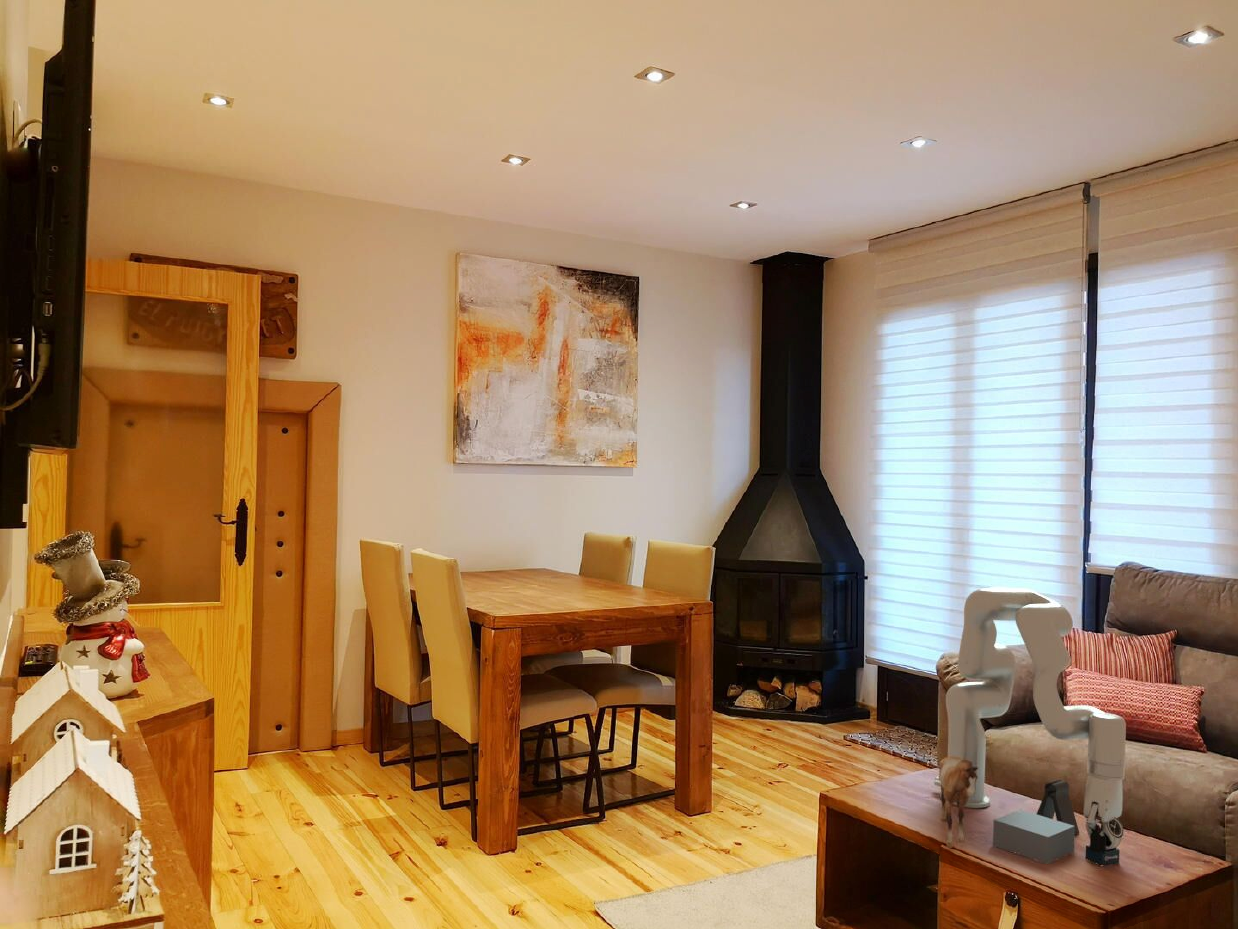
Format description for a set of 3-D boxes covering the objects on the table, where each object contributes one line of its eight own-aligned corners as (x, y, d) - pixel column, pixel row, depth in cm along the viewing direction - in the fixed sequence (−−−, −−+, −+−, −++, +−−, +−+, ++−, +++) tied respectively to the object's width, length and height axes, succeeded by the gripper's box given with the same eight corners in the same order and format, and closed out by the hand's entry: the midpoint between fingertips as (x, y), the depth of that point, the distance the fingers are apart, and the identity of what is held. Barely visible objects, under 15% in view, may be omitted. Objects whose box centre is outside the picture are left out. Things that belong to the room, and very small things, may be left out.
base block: (992, 845, 221) (993, 819, 222) (1019, 834, 230) (1020, 809, 230) (1047, 864, 211) (1048, 837, 212) (1073, 852, 220) (1074, 826, 220)
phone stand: (1079, 834, 232) (1081, 785, 233) (1066, 838, 229) (1068, 788, 229) (1044, 822, 240) (1046, 775, 240) (1031, 826, 236) (1033, 778, 236)
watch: (1109, 869, 210) (1111, 820, 210) (1078, 856, 217) (1080, 808, 218) (1127, 866, 212) (1128, 817, 213) (1096, 853, 220) (1097, 806, 220)
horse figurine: (975, 858, 213) (978, 766, 214) (939, 852, 215) (942, 762, 216) (968, 815, 243) (971, 734, 243) (936, 810, 245) (939, 730, 246)
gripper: (1104, 759, 224) (1102, 836, 223) (1072, 770, 213) (1069, 852, 212) (1138, 767, 218) (1136, 847, 217) (1106, 779, 207) (1103, 863, 207)
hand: (1103, 848), depth 215 cm, fingers open, 4 cm apart
